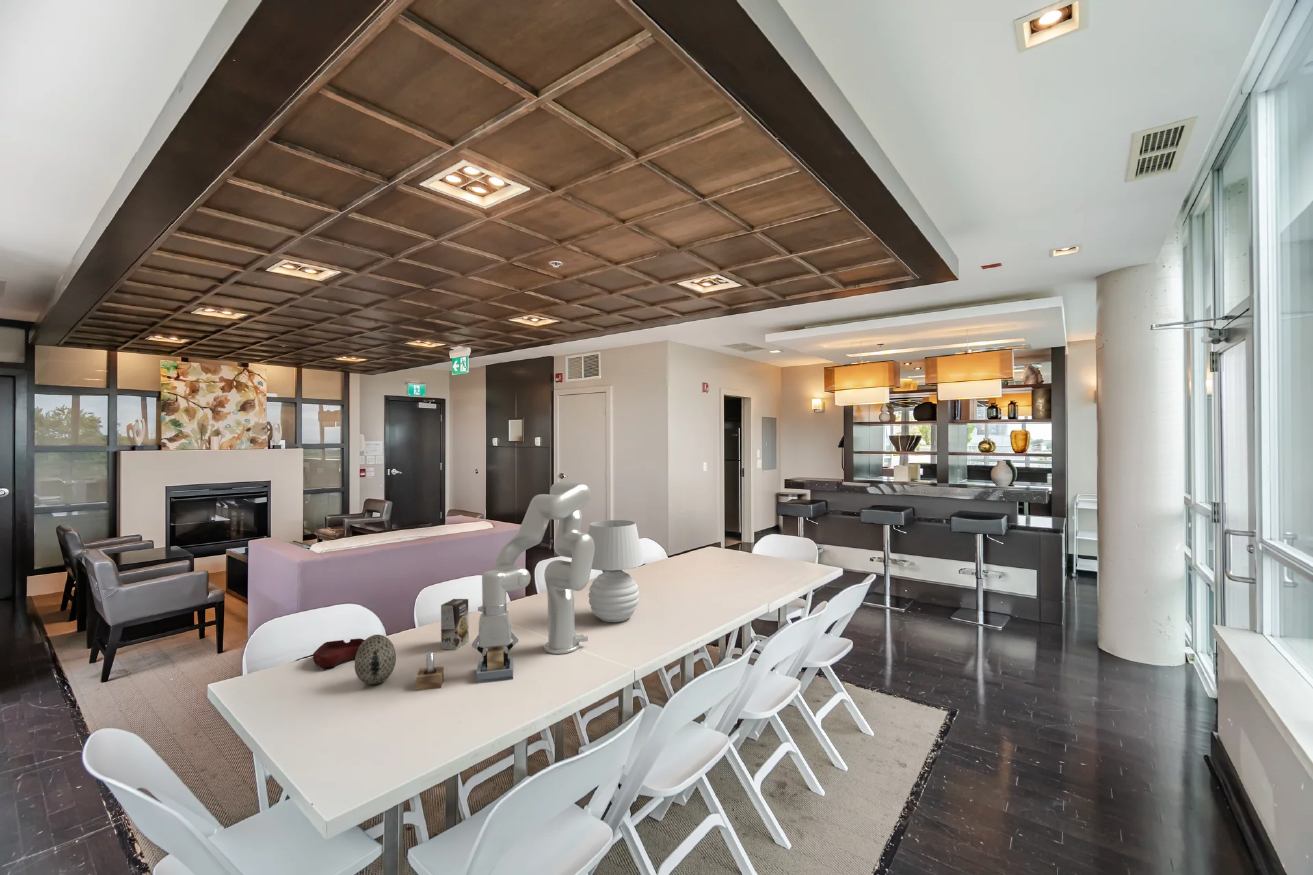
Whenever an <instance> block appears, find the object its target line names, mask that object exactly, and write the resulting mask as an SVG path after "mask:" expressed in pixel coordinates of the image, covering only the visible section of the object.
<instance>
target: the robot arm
mask: <svg viewBox="0 0 1313 875" xmlns="http://www.w3.org/2000/svg"><path fill="white" fill-rule="evenodd" d="M590 499H591V490H590V487H589V486H588V485H586V484H585V483H581V482H571V481H570V482H568V481H560V482H555V483H553V484H552V485H551V487H550V490H549V494H546V493H544V494H543V493H541V494H536V495H534V496H533V497H532V499H531V501H530V503H529V506H528V508H527V510H526V513H525V515H524V518H523V520H522V522H521V524H520V527H519V529H518V532H517V533H516V534H515V535H514V536H513V537H512V538H511V539H510V540H509V541H508V542H507V543H506V544H505V545H504V547H502V549H501V550H500V551H499V553H498V555H497V558H496V559H495V563H494V565H493V568H492V570H491V569H490V570H487V571H485V572H483V573H482V576H481V587H482V588H481V589H482V590H481V591H482V593H481V594H482V595H481V596H482V597H481V598H482V601H481V602H482V605H481V606H478V607H477V611H478V612H481V614H480V616H479V620H478V635H477V636H476V638H475V639H474V640H473V641H472V643H471V647H472V648H474V649H475V650H477V652H479V653H480V654H481V655H482V660H483V665H484V664H485V668H487V649H488V647H495V646H503V648H504V653H503V658H504V666H506V662H508V657H509V652H510V650H512V648H513V647H514V646H515V645H516V644H518V643H519V638H518V637H517V636H516V635H515V634H514V633H513V631H512V621H511V615H510V613H509V611H508V609H507V608H508V607H507V592H513V591H520V590H521V591H522V590H523V589H525V588H526V587H528V586H529V584H530V583H531V579H532V577H531V574H530V571H529V570H528V569H526V568H525V567H522V566H518V565H515V562H516V561H517V560H518V558H519V557H520V555H521V554H523V552H525V551H526V550H528V549H531V548H533V547H534V546H537V545H539V544H540V543H541V542H542V541H543V539H544V536H545V532H546V530H547V528H548V525H549V523H550V520H557V521H558V523H557V524H558V525H557V530H556V534H555V540H554V547H553V550H554V552H555V553H556V555H558V556H560V557H564V558H568V559H571V561H568V560H563V559H561V560H560V559H555V560H552V561H550V562H548V564H547V565H546V567H545V569H544V582H545V586H546V588H545V589H546V593H547V594H546V595H547V596H546V597H547V633H548V634H547V635H548V636H547V639H548V640H547V642H546V643H544V646H543V649H544V651H545V652H547V653H549V654H556V655H560V654H561V655H562V654H563V655H564V654H569V653H572V652H575V651H576V650H578V649H579V648H580V642H588V641H589V640H588V635H584V634H580V635H579V634H577V633H576V631H575V630H576V628H575V596H574V592H580V591H582V590H583V589H585V588H586V587H587V585H588V584H589V582H590V577H591V571H592V569H591V568H592V562H593V557H594V551H595V545H594V541H593V538H592V537H591V536H590V535H589V534H588V533H586V532H582V524H583V514H582V510H581V509H582V508H584V507H585V506H586V505H588V503H590V502H589V501H590Z"/></svg>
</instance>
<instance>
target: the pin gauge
mask: <svg viewBox="0 0 1313 875" xmlns="http://www.w3.org/2000/svg"><path fill="white" fill-rule="evenodd" d="M425 654H426V656H425V657H426V658H425V659H426V663H425V664H426V667H425V668H427V674H434V667H435V652H434V651H433V650H429V651H427V652H426V653H425Z"/></svg>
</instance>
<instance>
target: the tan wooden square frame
mask: <svg viewBox="0 0 1313 875" xmlns="http://www.w3.org/2000/svg"><path fill="white" fill-rule="evenodd" d="M417 672H418V673H417V675H416V680H415V681H416V682H415V684H416V691H418V692H419V691H425V690H434V689H442V686H443V682H444V679H445V678H444V677H445V674H444V672H445V669H444V665H440V666H434V674H427V667H422V668H419V670H418V671H417Z"/></svg>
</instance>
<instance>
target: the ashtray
mask: <svg viewBox="0 0 1313 875" xmlns="http://www.w3.org/2000/svg"><path fill="white" fill-rule="evenodd" d="M365 640H366V639H364V638H351V639H350V641H348V642H346V641H345V640H343V639H341V640H332V641H325V642H324V643H323V644H321V645H320V646H319V647H318V648H317V649H316V650H314V652H313V654H312V660H313V662H314V664H315V665H316V666H317V667H320V668H323V669H324V670H331V669H334V667H335V666H337V665H339V664H343V663H346V662H349V661H352V660H355V657H356V653H357V651H358V649H359V647H360V645H361V644H362V643H363V642H364V641H365Z"/></svg>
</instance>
